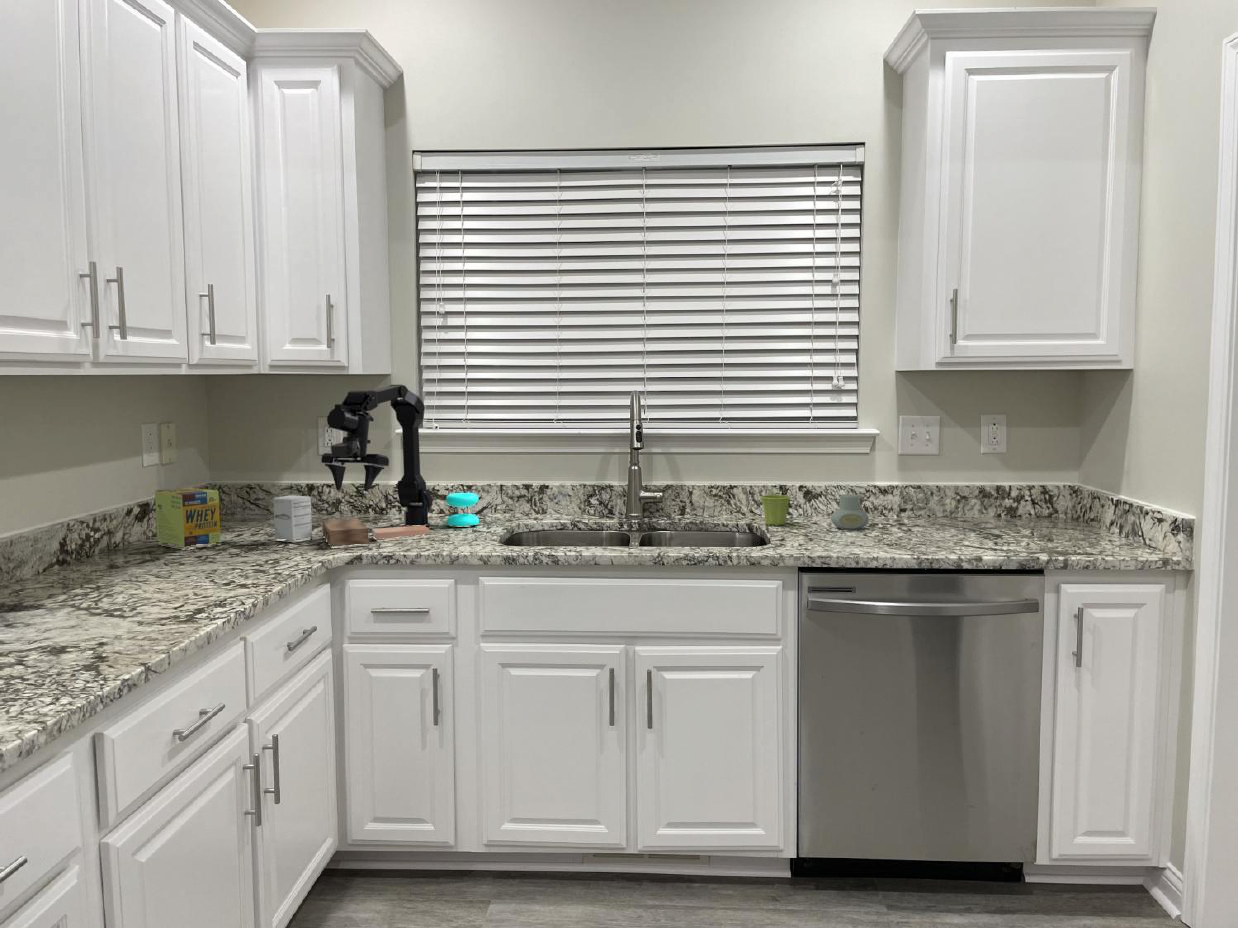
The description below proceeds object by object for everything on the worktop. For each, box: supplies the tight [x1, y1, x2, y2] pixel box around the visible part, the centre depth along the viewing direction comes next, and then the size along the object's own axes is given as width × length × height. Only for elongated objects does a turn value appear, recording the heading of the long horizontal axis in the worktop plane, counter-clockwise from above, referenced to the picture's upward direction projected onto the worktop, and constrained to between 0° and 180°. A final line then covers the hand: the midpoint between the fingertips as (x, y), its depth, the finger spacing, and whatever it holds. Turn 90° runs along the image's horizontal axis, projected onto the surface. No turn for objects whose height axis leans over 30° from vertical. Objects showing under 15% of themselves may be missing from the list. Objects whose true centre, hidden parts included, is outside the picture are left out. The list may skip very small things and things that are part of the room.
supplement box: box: [273, 495, 313, 540], centre depth 254 cm, size 7×7×13 cm
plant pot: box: [759, 494, 792, 526], centre depth 277 cm, size 9×9×9 cm
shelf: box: [321, 518, 370, 547], centre depth 252 cm, size 10×20×5 cm, turn 24°
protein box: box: [154, 487, 222, 547], centre depth 248 cm, size 10×15×16 cm
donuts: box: [445, 492, 480, 526], centre depth 279 cm, size 10×10×10 cm
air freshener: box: [830, 493, 870, 531], centre depth 267 cm, size 11×8×10 cm
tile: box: [371, 525, 430, 539], centre depth 258 cm, size 15×8×3 cm, turn 113°
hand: (352, 490), depth 247 cm, fingers open, 9 cm apart
